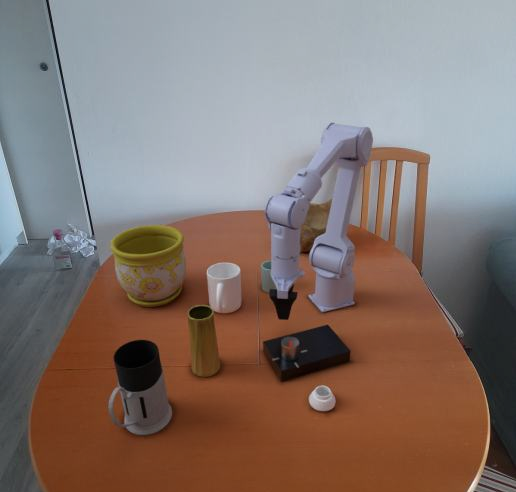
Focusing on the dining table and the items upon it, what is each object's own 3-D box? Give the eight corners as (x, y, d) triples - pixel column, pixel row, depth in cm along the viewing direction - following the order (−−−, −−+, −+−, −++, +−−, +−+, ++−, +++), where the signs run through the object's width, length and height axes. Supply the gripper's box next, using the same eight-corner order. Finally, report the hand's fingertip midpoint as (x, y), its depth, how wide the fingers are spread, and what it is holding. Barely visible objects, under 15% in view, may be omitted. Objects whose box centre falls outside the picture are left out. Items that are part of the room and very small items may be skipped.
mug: (236, 324, 107) (234, 288, 102) (202, 322, 108) (199, 286, 103) (244, 297, 118) (242, 263, 113) (213, 295, 119) (210, 261, 114)
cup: (276, 280, 125) (276, 258, 121) (284, 290, 120) (284, 267, 117) (258, 284, 123) (258, 262, 120) (265, 294, 119) (265, 271, 115)
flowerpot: (127, 320, 109) (115, 262, 101) (116, 285, 124) (105, 232, 116) (197, 302, 116) (192, 246, 108) (179, 271, 130) (173, 219, 122)
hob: (327, 334, 103) (327, 323, 102) (350, 362, 95) (352, 351, 93) (261, 352, 98) (261, 341, 97) (280, 383, 90) (280, 372, 88)
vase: (197, 381, 91) (191, 324, 84) (187, 363, 96) (180, 308, 89) (225, 371, 93) (221, 315, 86) (213, 354, 98) (209, 300, 91)
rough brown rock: (273, 259, 137) (274, 216, 129) (271, 232, 151) (272, 192, 142) (348, 260, 137) (354, 217, 129) (339, 233, 151) (345, 193, 143)
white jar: (327, 390, 88) (304, 397, 86) (327, 378, 87) (304, 386, 85) (340, 407, 84) (316, 416, 82) (341, 396, 82) (317, 404, 81)
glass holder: (179, 402, 86) (170, 340, 79) (147, 465, 74) (132, 400, 66) (137, 395, 88) (125, 334, 80) (99, 456, 76) (80, 391, 68)
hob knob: (280, 350, 94) (280, 335, 92) (297, 349, 94) (297, 334, 92) (282, 361, 91) (282, 347, 89) (299, 360, 91) (300, 346, 89)
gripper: (304, 271, 83) (301, 329, 90) (306, 237, 96) (304, 291, 102) (266, 269, 84) (267, 327, 91) (273, 236, 97) (273, 289, 103)
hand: (284, 308), depth 97 cm, fingers open, 7 cm apart
